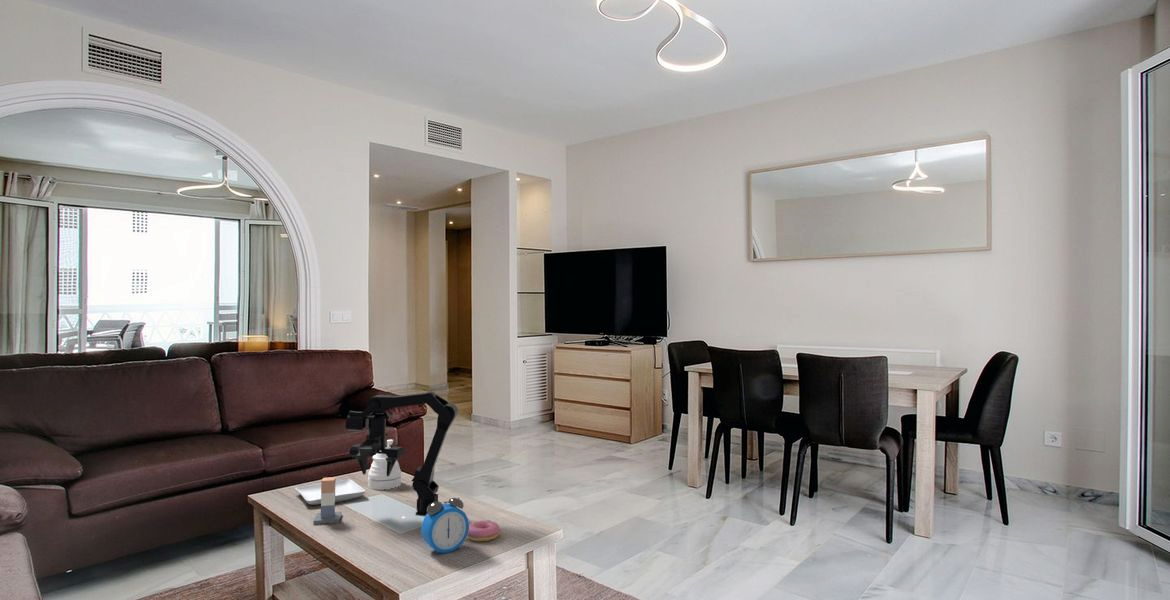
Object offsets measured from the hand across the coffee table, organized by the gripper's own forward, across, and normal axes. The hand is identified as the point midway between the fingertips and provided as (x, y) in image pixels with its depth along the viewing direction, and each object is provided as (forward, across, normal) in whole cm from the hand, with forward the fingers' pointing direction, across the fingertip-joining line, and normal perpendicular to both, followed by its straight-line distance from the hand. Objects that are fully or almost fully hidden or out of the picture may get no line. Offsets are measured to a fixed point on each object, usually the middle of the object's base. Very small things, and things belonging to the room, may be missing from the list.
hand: (376, 475), depth 221 cm
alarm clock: (+13, +38, -26) cm, 48 cm away
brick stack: (+12, -11, -11) cm, 20 cm away
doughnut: (+13, +45, -13) cm, 49 cm away
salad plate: (+14, -26, +12) cm, 32 cm away
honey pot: (+13, -14, +31) cm, 36 cm away
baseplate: (+13, -11, -11) cm, 20 cm away
